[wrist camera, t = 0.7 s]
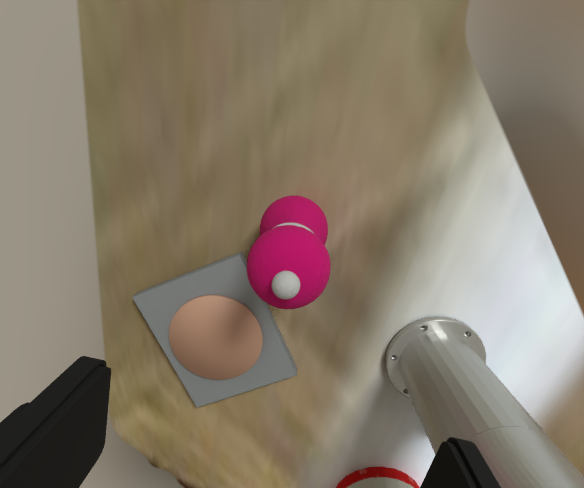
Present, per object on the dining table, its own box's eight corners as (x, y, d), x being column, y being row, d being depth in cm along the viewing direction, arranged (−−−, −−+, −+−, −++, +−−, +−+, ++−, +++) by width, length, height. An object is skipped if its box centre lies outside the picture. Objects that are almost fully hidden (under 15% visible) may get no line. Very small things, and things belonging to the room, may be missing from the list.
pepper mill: (285, 261, 40) (268, 362, 20) (253, 212, 38) (200, 272, 19) (336, 231, 38) (368, 309, 19) (304, 179, 37) (304, 207, 17)
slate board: (297, 367, 44) (296, 378, 42) (200, 399, 46) (195, 410, 44) (242, 251, 39) (238, 256, 37) (138, 292, 41) (129, 299, 39)
